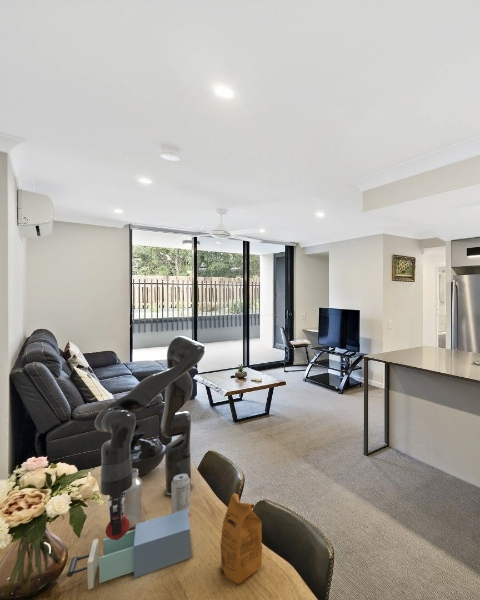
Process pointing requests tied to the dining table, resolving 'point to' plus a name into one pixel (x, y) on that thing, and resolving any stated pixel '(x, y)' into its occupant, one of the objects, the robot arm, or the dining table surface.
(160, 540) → the cabinet
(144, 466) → the coal bowl
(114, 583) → the dining table surface
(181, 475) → the energy drink can
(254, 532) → the coffee package
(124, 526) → the onion
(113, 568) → the drawer
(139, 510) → the plastic bottle
